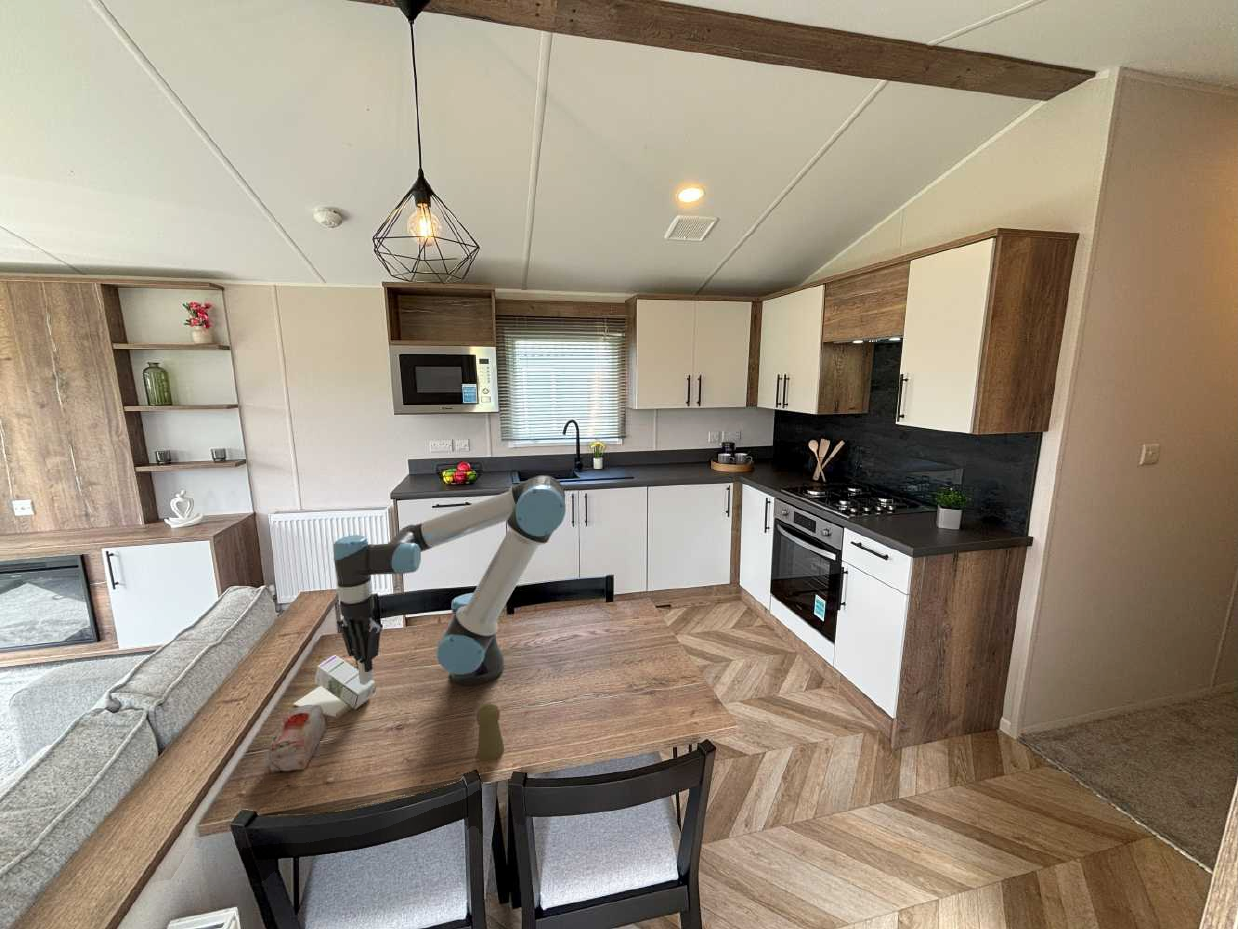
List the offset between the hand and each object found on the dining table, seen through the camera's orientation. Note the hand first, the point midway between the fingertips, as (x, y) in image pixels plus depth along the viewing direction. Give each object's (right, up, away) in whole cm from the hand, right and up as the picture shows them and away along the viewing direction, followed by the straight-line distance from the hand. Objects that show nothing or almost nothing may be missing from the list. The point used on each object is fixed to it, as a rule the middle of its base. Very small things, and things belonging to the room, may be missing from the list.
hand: (366, 681), depth 129 cm
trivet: (-11, -7, +6) cm, 14 cm away
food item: (-8, -11, -14) cm, 19 cm away
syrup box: (-1, -5, +1) cm, 5 cm away
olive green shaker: (+36, -10, -14) cm, 40 cm away
